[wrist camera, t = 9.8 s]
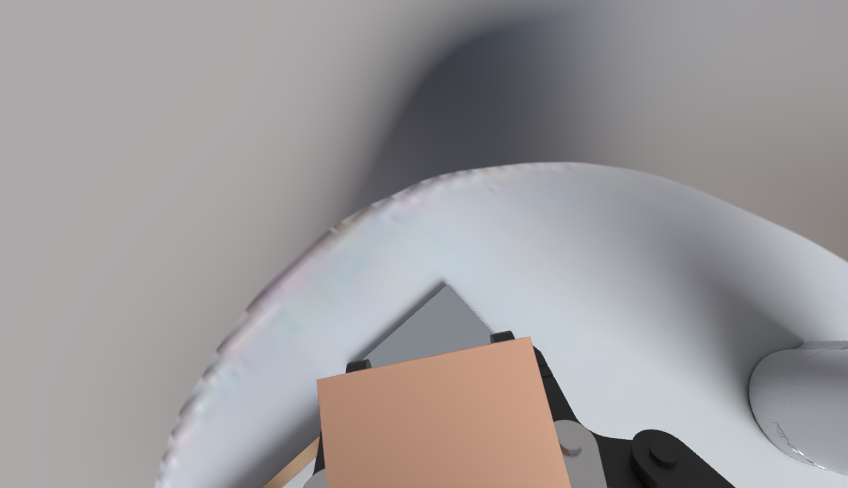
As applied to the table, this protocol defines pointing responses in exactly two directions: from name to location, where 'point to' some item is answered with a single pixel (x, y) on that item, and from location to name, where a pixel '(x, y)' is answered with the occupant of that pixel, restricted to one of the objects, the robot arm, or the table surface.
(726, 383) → the table surface
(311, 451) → the walnut cradle
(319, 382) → the terracotta block
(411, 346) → the slate mat
